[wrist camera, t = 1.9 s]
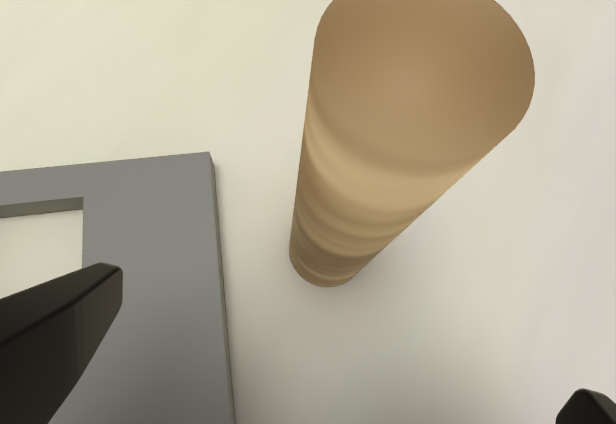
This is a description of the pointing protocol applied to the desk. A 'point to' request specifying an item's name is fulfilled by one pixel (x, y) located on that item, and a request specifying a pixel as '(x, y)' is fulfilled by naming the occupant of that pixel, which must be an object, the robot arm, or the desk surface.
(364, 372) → the desk surface
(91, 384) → the hole plate
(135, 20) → the desk surface
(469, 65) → the tall dowel
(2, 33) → the desk surface
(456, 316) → the desk surface
